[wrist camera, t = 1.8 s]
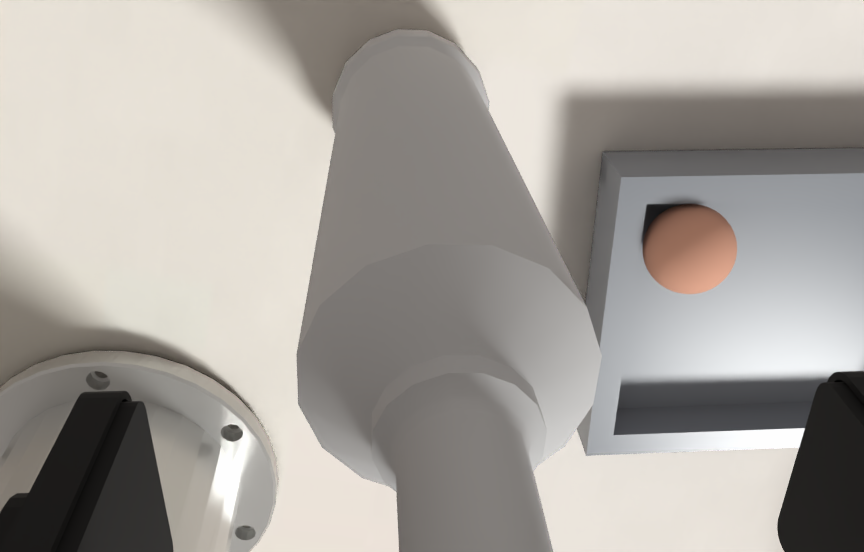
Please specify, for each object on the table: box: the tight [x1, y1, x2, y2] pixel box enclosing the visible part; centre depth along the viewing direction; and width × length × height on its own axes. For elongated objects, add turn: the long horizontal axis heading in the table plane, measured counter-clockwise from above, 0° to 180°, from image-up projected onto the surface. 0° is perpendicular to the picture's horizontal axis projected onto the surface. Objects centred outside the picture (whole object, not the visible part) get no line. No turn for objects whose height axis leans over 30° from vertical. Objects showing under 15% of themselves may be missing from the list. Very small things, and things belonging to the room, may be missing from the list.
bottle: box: [297, 29, 602, 552], centre depth 17 cm, size 5×5×25 cm
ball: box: [642, 204, 737, 294], centre depth 29 cm, size 3×3×3 cm
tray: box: [577, 148, 864, 456], centre depth 32 cm, size 12×14×2 cm
